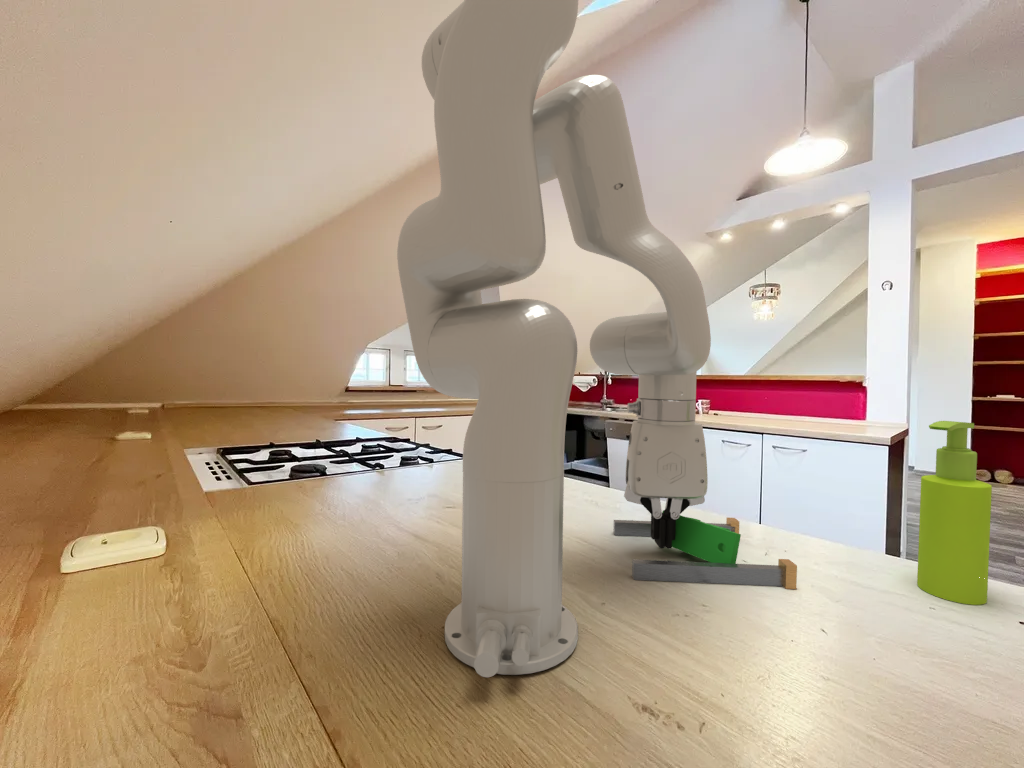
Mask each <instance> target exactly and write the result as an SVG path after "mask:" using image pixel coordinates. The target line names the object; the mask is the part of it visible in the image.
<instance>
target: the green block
mask: <svg viewBox="0 0 1024 768" xmlns="http://www.w3.org/2000/svg"><path fill="white" fill-rule="evenodd" d="M664 510H665V509H662V513H664ZM708 523H709V522H704V521H702V520H700V519H698V518H695V517H688V516H684V515H681V514H680V516H679V518H678V519H676V536H675V540H672V548H673V549H676V550H678V551H681V552H682V553H683V552H684V553H686V554H688V555H691V556H693V557H695V558H698V559H701V560H704V561H705V562H706V561H707V563H731V564H737V559H738V553H739V546H740V541H741V536H742V534H740V533H739V534H738V533H735V532H732V531H730V529H727V528H723V527H719V526H715V525H711V524H708Z"/></svg>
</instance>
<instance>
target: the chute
mask: <svg viewBox="0 0 1024 768" xmlns="http://www.w3.org/2000/svg"><path fill="white" fill-rule="evenodd" d="M725 521H726V522H725V523H715V522H714V523H713V522H711V523H710V522H707V523H708V524H711V525H715V526H719V527H723V528H727V529H730V531H732V532H735V533H738V534H740V521H739V520H738V519H737V518H736V517H726V519H725ZM613 535H614V536H623V537H625V536H630V537H651V520H633V519H632V520H631V519H613ZM631 561H632V562H631V563H632V564H631V565H632V566H631V576H632V578H633V580H635V581H650V582H651V581H656V582H674V583H675V582H676V583H697V584H719V585H720V584H721V585H724V584H725V585H742V586H743V585H746V586H750V585H751V586H765V587H766V586H768V587H783V588H784V589H787V590H797V579H798V578H797V577H798V565H797V564H796V563H795V562H793V561H792V560H790V559H787V558H778V565H775V564H773V565H772V564H753V563H750V564H748V563H736V564H731V563H711V562H708V561H707V562H706V561H705V562H702V561H678V560H657V559H655V560H652V559H635V558H633V559H632V560H631Z"/></svg>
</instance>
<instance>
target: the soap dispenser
mask: <svg viewBox="0 0 1024 768" xmlns="http://www.w3.org/2000/svg"><path fill="white" fill-rule="evenodd" d="M928 428H929V429H930V430H935V431H936V430H937V431H946V446H942V447H939V448H936V453H935V454H936V455H935V474H927V475H921V477H920V495H919V496H920V500H919V522H918V523H919V525H918V526H919V529H918V551H917V576H916V578H917V580H916V585H917V587H918V588H919V589H920V590H922V591H924V592H925V593H927V594H929V595H932V596H934V597H936V598H940V599H943V600H946V601H949V602H952V603H953V602H954V603H958V604H963V605H974V606H982V605H985V604H987V602H988V589H989V585H988V584H989V568H990V567H989V563H990V562H989V561H990V541H991V540H990V539H991V538H990V536H991V520H992V519H991V517H992V516H991V514H992V513H991V512H992V491H993V485H992V484H989V482H988V483H987V482H985V481H982V480H978V479H977V467H978V465H977V464H978V453H977V452H976V451H973V450H972V449H971V448H968V429H975V423H974V422H965V421H952V420H939V421H935V422H933V423H931V424H929V425H928ZM979 577H980V578H979ZM984 578H985V579H984Z"/></svg>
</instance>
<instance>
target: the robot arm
mask: <svg viewBox="0 0 1024 768" xmlns="http://www.w3.org/2000/svg"><path fill="white" fill-rule="evenodd" d="M578 10H579V0H463V1H462V3H460V4H459V5H458V6H457V7H456V8H455V9H454V10H453V11H452V12H451V13H450V14H448V15H447V17H445V18H444V20H443V21H441V22H440V23H439V24H438V25H437V27H436V28H435V29H434V30H433V31H432V32H431V34H429V37H428V38H427V39H426V42H425V43H424V45H423V51H422V53H421V70H422V71H421V72H422V77H423V79H424V83H425V86H426V88H427V90H428V92H429V94H430V96H431V97H432V99H433V101H434V102H433V112H434V113H433V114H434V115H433V119H434V129H435V130H434V131H435V139H436V147H437V149H436V151H437V158H438V168H439V174H440V192H439V194H438V196H436V197H434V198H432V199H429V200H427V201H425V202H423V203H421V204H420V205H419V206H417V207H416V208H415V209H414V210H412V211H411V213H410V214H409V215H408V216H407V217H406V219H405V220H404V222H403V225H402V226H401V229H400V233H399V234H398V235H399V236H398V241H397V249H396V250H397V251H396V253H397V254H396V257H397V258H396V259H397V269H398V275H399V281H400V286H401V292H402V296H403V303H404V309H405V313H406V319H407V325H408V329H409V334H410V340H411V345H412V349H413V353H414V357H415V361H416V364H417V367H418V369H419V372H420V373H421V375H422V378H424V380H425V382H426V383H427V384H428V385H429V386H430V387H431V388H432V389H433V390H435V391H436V392H437V393H440V394H442V395H445V396H447V397H454V398H461V399H471V400H477V403H476V406H475V408H474V411H473V413H472V415H471V419H470V421H469V423H468V426H467V429H466V431H465V436H464V437H465V438H464V441H463V450H462V517H461V518H462V521H461V522H462V526H461V527H462V530H461V532H462V533H461V534H462V535H461V541H462V542H461V602H460V603H459V604H458V605H456V606H455V607H454V608H453V609H451V611H450V612H449V614H448V615H447V616H446V619H445V621H444V640H445V644H446V645H447V649H448V650H449V651H450V652H451V653H452V655H453V656H454V657H455V658H457V659H458V660H459V661H461V662H462V663H463V664H464V665H465V664H466V665H468V666H469V667H471V668H474V669H475V672H476V674H477V675H479V676H480V677H483V678H490V677H493V676H495V675H497V674H498V675H502V676H503V675H504V676H506V675H507V676H509V675H511V676H518V675H530V674H533V673H534V674H535V673H539V672H542V671H545V670H548V669H551V668H554V667H555V666H557V665H559V664H561V663H562V662H564V661H565V660H566V659H567V658H568V657H569V656H570V655H572V654H573V652H574V651H575V648H577V644H578V639H579V625H578V622H577V619H576V617H575V616H574V614H573V612H571V611H570V610H569V609H568V608H567V607H566V606H565V605H563V553H564V551H563V550H564V547H563V545H564V544H563V543H564V495H565V491H564V489H565V487H564V486H565V441H566V440H565V438H566V437H565V436H566V425H567V415H568V407H569V402H570V396H571V392H572V386H573V382H574V377H575V373H576V369H577V361H578V340H577V336H576V331H575V329H574V327H573V325H572V323H571V321H570V320H569V318H568V317H567V315H566V314H564V312H563V311H562V310H561V309H559V308H558V307H556V306H554V305H553V304H551V303H549V302H546V301H543V300H538V299H532V298H531V299H529V298H514V299H506V300H501V301H500V300H499V301H493V302H487V303H483V299H482V292H481V291H483V290H487V289H492V288H493V289H494V288H497V287H503V286H506V285H510V284H514V283H517V282H520V281H523V280H526V279H527V278H529V277H530V276H532V275H534V274H535V273H536V272H537V271H538V270H539V268H541V266H542V264H543V262H544V259H545V256H546V251H547V250H546V247H547V246H546V243H547V239H546V225H545V216H544V215H545V214H544V209H543V201H542V193H541V192H542V191H541V185H542V184H546V183H547V182H548V183H549V182H551V181H553V180H556V179H557V181H558V183H559V188H560V191H561V196H562V199H563V203H564V207H565V210H566V214H567V218H568V222H569V225H570V230H571V232H572V234H571V235H572V236H573V240H574V243H575V245H577V247H579V249H581V250H584V251H587V252H589V253H593V254H595V255H600V256H603V257H606V258H609V259H612V260H615V261H617V262H620V263H623V264H625V265H627V266H629V267H631V268H633V269H635V271H638V272H640V274H642V275H643V276H644V277H646V278H647V279H648V280H649V282H651V284H653V285H654V287H655V289H656V290H657V292H658V293H659V295H660V297H661V299H662V300H663V304H664V306H665V310H666V311H661V312H652V313H641V314H640V313H639V314H635V315H633V314H632V315H624V316H623V315H622V316H615V317H611V318H608V319H606V320H604V321H602V322H601V323H600V324H598V325H597V326H596V328H595V329H594V330H593V332H592V334H591V336H590V340H589V351H590V355H591V358H592V360H593V361H594V363H595V364H596V365H597V366H598V367H599V368H600V369H602V370H603V371H605V372H607V373H609V374H613V375H618V376H619V375H622V376H624V375H625V376H627V375H628V376H630V375H631V376H638V394H637V395H638V398H636V400H635V401H633V402H628V403H627V405H626V406H627V408H626V409H627V411H626V412H627V413H629V414H631V413H632V414H633V415H635V416H636V417H637V420H632V424H631V428H630V433H629V438H628V445H627V453H626V454H627V455H626V463H625V484H626V485H625V490H624V493H623V494H624V495H623V497H624V499H625V500H626V501H627V502H630V503H633V504H636V505H641V506H642V507H644V508H645V509H646V510H647V511H648V513H649V514H650V521H651V539H652V540H654V542H655V544H656V546H658V548H659V549H664V548H667V549H672V548H673V547H672V540H675V536H676V519H678V518H679V516H680V515H681V514H682V513H683V512H684V511H685V510H686V509H688V507H692V506H698V505H703V504H704V503H705V496H706V495H707V492H708V482H709V481H708V479H709V478H708V463H707V449H706V442H705V439H706V438H705V433H704V430H703V429H704V428H703V424H702V423H699V422H696V408H697V406H696V404H697V402H696V401H697V400H696V399H697V371H699V370H701V369H702V368H703V367H704V365H705V364H706V363H707V361H708V358H709V355H710V351H711V344H712V343H711V342H712V337H711V326H710V325H711V324H710V319H709V314H708V308H707V302H706V297H705V293H704V287H703V284H702V281H701V279H700V276H699V273H698V272H697V271H696V269H695V268H694V266H693V265H692V263H691V262H690V260H689V259H688V257H687V256H686V255H685V253H684V252H683V251H682V250H681V249H680V248H679V247H678V245H677V244H675V243H674V241H672V240H671V239H670V238H669V237H668V236H666V235H665V234H664V233H662V232H661V231H660V230H659V229H658V228H656V227H655V226H654V224H652V222H651V221H650V219H649V217H648V213H647V211H646V205H645V200H644V193H643V191H642V186H641V180H640V175H639V171H638V167H637V162H636V156H635V153H634V147H633V142H632V138H631V137H632V136H631V133H630V128H629V124H628V120H627V115H626V109H625V105H624V101H623V97H622V94H621V91H620V89H619V87H618V86H617V84H616V83H615V82H614V81H613V80H612V79H611V78H609V77H607V76H605V75H602V74H588V75H583V76H580V77H577V78H574V79H572V80H569V81H566V82H565V83H562V84H561V85H559V86H558V87H556V88H554V89H552V90H550V91H549V92H546V93H545V94H543V95H541V96H540V97H537V93H538V89H539V86H540V84H541V82H542V80H543V77H544V75H545V73H546V71H548V70H549V69H550V68H551V67H552V66H553V65H554V64H555V63H556V62H557V61H558V59H559V58H560V57H561V56H562V54H563V53H564V51H565V50H566V48H567V47H568V44H569V42H570V41H571V37H572V36H573V34H574V33H573V32H574V30H575V27H576V24H577V19H578V12H579V11H578ZM536 97H537V98H536ZM661 499H666V501H665V506H664V509H662V504H661ZM663 510H664V513H662V512H663Z"/></svg>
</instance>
